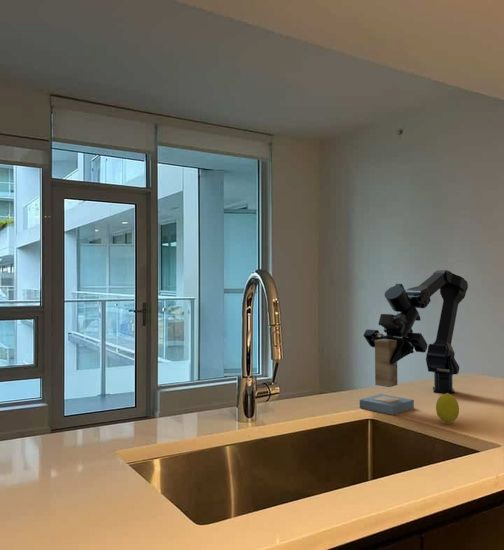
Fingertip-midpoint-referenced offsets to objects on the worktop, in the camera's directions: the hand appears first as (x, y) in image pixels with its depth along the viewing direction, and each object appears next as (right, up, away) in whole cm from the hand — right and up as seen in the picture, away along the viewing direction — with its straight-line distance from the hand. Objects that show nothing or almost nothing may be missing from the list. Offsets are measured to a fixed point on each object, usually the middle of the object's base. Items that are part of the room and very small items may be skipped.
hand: (383, 362), depth 149 cm
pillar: (+1, -7, +1) cm, 7 cm away
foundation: (+1, -13, +1) cm, 13 cm away
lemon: (+12, -13, -17) cm, 24 cm away
